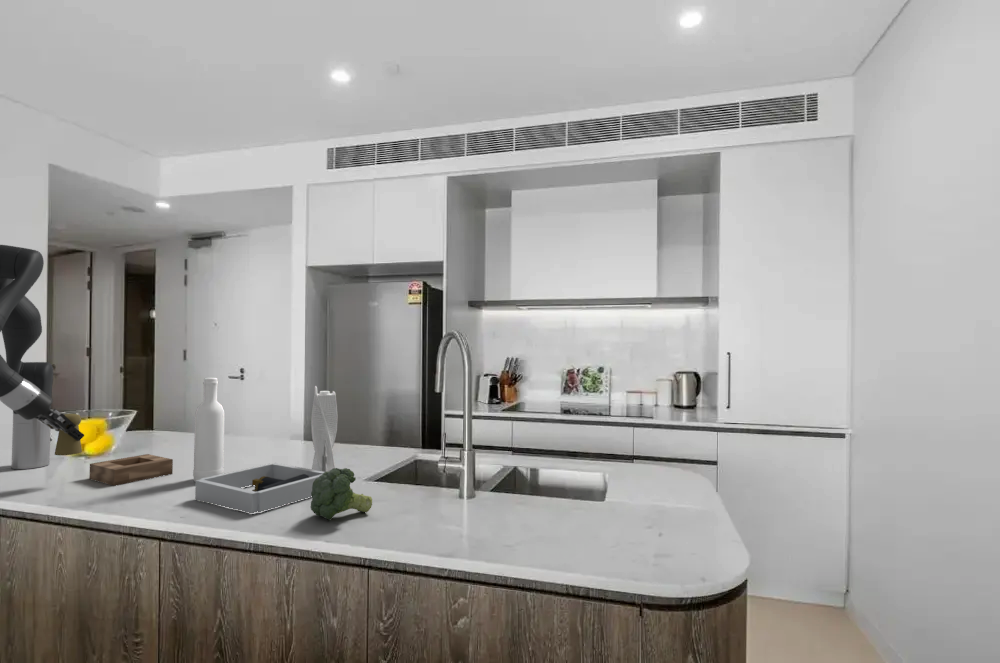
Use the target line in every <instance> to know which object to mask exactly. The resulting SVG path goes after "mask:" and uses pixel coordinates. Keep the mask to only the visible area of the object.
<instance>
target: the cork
mask: <svg viewBox="0 0 1000 663" xmlns="http://www.w3.org/2000/svg"><path fill="white" fill-rule="evenodd" d="M63 414H64V415H65V416H66V417H67V418H68V419H69V420H70V421H71V422H73V423H74V424H75V425H76V427H75V428H76V429H77V430H79V431H80V428H79V425H81V423H82V418H81V415H80V414H78V413H63ZM68 426H69V425H67V426H66V428H67V427H68ZM57 435H58V436H57V440H56V445H55V449H54V455H55V456H71V455H72V456H73V455H79V454H81V453H82V452H83V450H82V449H83V448H82V443H81V440H79V441H77V440H75V439H74V438H73V437H71V436H70V435H68V434H67V433H64V432H63V431H62V430H60V429H59V431H58V434H57Z"/></svg>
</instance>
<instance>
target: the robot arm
mask: <svg viewBox="0 0 1000 663" xmlns="http://www.w3.org/2000/svg"><path fill="white" fill-rule="evenodd" d="M44 262H45V261H44V257H43V255H42V253H41V252H40V251H39V250H36V249H32V248H26V247H18V246H14V245H6V244H0V333H1V335H2V338H3V345H4V351H5V358H3V356H2V355H1V354H0V402H1V403H2V404H3V405H4V406H7V407H8V408H9V409H10V410H12V438H11V439H12V440H11V463H10V464H11V466H10V467H11V469H13V470H27V469H29V470H30V469H37V468H41V467H42V468H43V467H46V466H49V465H50V461H51V460H50V459H51V458H50V457H51V454H50V452H51V430H54V431H56V432H59V429H60V430H62V431H63V432H64V433H67V434H68V435H70V436H71V437H73V438H74V439H75V440H77V441H79V440H80V441H81V439H83V437H85V434H84V433H83V432H81V430H80V429H79V430H77V429H76V428H75V427H76V425H75V424H74V423H73V422H71V421H70V420H69V419H68V418H67V417H66V416H65V415H64V414H65V413H61V412H60V411H58V410H57V409H56V408H54V409H52V404H53V402H54V400H53V398H52V394H53V392H52V390H53V382H54V367H53V365H52V363H50V362H49V361H48V362H47V361H32V362H31V361H30V362H29V361H24V362H23V361H22V358H23V357H24V356H25V354H26V352H27V351H28V350H29V349H31V347H32V346H33V345H34V344H35V343H36V342H37V340H39V338H40V336H41V335H42V332H43V327H42V319H41V318H42V316H41V313H40V311H39V309H38V308H37V306H36V305H35V304H34V303H33V302H32V301H31V300H30V299H29V298H28V296H26V295H27V293H28V292H29V291H30V290H31V288H32V287H33V286H34V285H35V283H36V282H37V281H38V279H39V277H40V276H41V274H42V272H43V269H44ZM67 425H69V426H68V427H67V428H66V426H67Z"/></svg>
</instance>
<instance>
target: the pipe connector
mask: <svg viewBox="0 0 1000 663" xmlns="http://www.w3.org/2000/svg"><path fill="white" fill-rule="evenodd" d="M306 478H309V476H308V475H306V474H302V475H299V476H296V477H293V478H289V479H286V480H281V479H275V478H270V477H266V476H263V477H261V478H259V479H254V480H252V485H255V486H254V489H252V490H251V491H255V492H257V491H261V490H265V489H268V488H272V487H276V486H280V485H283V484H287V483H291V482H294V481H298V480H302V479H306Z"/></svg>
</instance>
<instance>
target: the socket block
mask: <svg viewBox="0 0 1000 663" xmlns="http://www.w3.org/2000/svg"><path fill="white" fill-rule="evenodd" d="M173 459H174V458H168V457H165V456H164V457H163V456H159V455H153V454H149V453H146V454H140V455H132V456H128V457H123V458H122V457H121V458H115V459H109V460H104V461H99V462H98V461H97V462H90V463H89V475H88V476H89V480H91V479H92V480H91V481H94V480H96V481H95V482H98V481H99V482H98V483H102V482H103V483H102V484H105V483H106V485H109V486H114V487H116V485H117V486H121V485H126V484H131V483H135V482H140V481H145V479H146V480H150V478H151V479H155V478H154V477H156V478H160V477H159V476H161V477H164V476H163V475H165V476H169V475H168V474H170V475H173V472H174V471H173V467H174V466H173V465H174V461H173Z"/></svg>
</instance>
